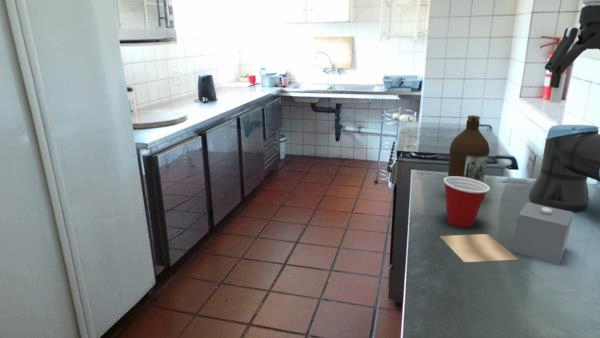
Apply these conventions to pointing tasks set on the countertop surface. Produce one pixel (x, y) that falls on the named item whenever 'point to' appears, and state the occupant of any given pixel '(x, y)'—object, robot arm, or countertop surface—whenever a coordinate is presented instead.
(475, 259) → the oak board
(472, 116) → the brown glass bottle shape
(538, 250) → the grey knobbed cube
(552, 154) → the robot arm
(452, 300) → the countertop surface
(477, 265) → the countertop surface
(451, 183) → the plastic cup
